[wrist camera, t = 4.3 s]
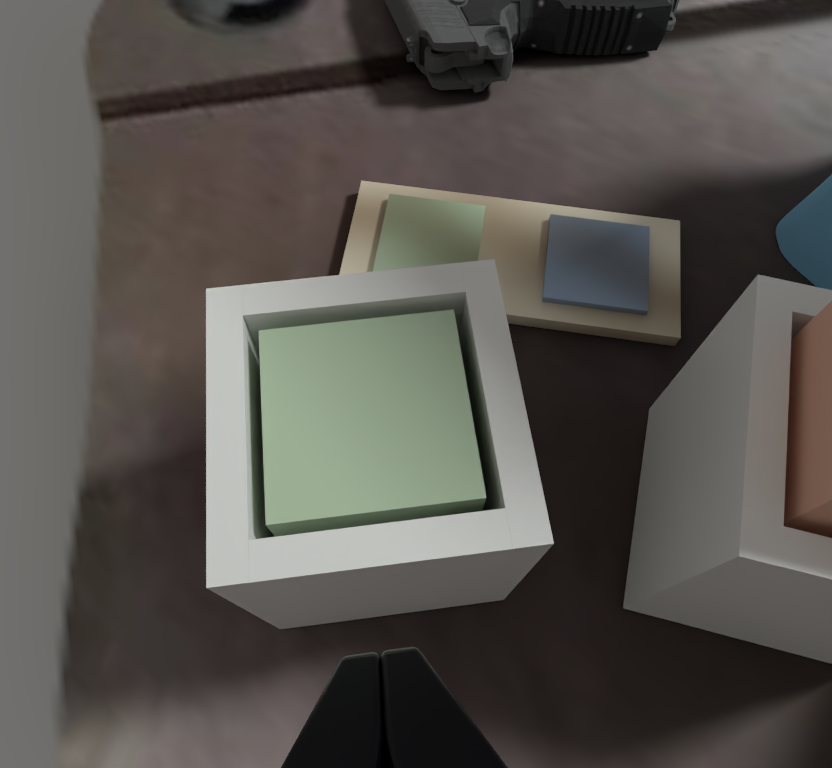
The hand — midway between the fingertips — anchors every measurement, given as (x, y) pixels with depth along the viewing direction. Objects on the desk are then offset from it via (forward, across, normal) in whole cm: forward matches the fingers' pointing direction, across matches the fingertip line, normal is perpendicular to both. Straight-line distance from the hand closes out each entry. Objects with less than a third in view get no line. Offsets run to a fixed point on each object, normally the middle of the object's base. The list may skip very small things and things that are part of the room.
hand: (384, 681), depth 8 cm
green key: (+13, 0, +5) cm, 13 cm away
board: (+19, -6, -1) cm, 20 cm away
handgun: (+31, -8, -12) cm, 35 cm away
